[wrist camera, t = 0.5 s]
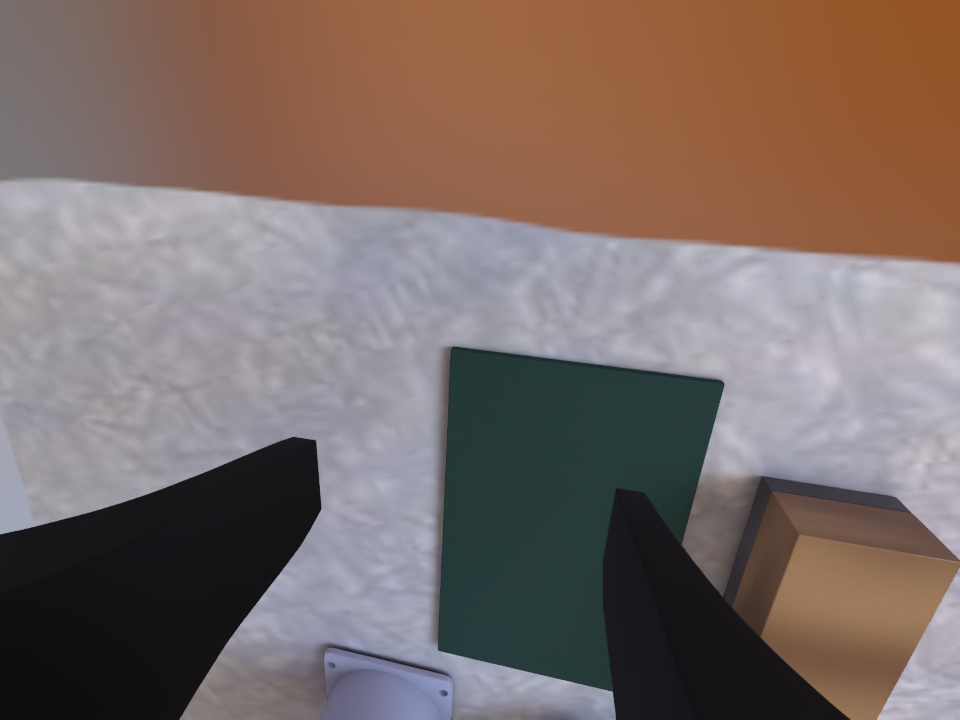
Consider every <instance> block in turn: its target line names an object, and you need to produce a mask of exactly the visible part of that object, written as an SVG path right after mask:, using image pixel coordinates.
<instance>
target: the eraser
mask: <svg viewBox="0 0 960 720" xmlns="http://www.w3.org/2000/svg"><path fill="white" fill-rule="evenodd" d="M959 568H960V560H959V559H958V558H957V557H956V556H955V555H954V554H953V553H952V552H951V551H950V550H949V549H948V548H947V547H946V546H945V545H944V544H943V543H942V542H941V541H940V540H939V539H938V538H937V537H936V536H935V535H934V534H933V533H932V532H931V531H930V530H929V529H928V528H927V527H926V526H925V525H924V524H923V523H922V522H921V521H919V520H918V519H917V518H916V517H915V516H914V515H913V514H912V513H911V512H910V511H909V510H908V509H907V508H906V507H905V506H904V505H903V504H902V503H901V502H900V501H899V500H898V499H897V498H895V497H890V496H883V495H877V494H870V493H864V492H857V491H851V490H845V489H838V488H832V487H825V486H819V485H812V484H806V483H799V482H793V481H787V480H780V479H774V478H767V477H763V478H762V481H761V484H760V487H759V490H758V493H757V496H756V499H755V502H754V505H753V508H752V512H751V515H750V518H749V521H748V524H747V527H746V530H745V533H744V536H743V539H742V542H741V545H740V548H739V551H738V555H737V558H736V561H735V564H734V567H733V570H732V573H731V576H730V579H729V582H728V585H727V588H726V591H725V594H724V597H723V598H724V599H725V600H726V601H727V603H728V604H729V605H730V606H731V607H732V608H733V609H734V610H735V611H736V612H737V614H738V615H739V616H740V617H741V618H742V619H743V620H744V621H745V622H746V623H747V624H748V625H749V626H750V627H751V628H752V629H753V630H754V631H755V632H756V633H757V634H758V635H759V636H760V637H761V638H762V639H763V640H764V641H765V642H766V643H767V644H768V646H769V647H770V648H771V649H773V650H774V651H775V652H776V653H777V654H778V655H779V656H780V657H781V658H782V659H783V660H784V661H785V662H786V663H787V664H788V665H789V666H790V667H791V668H793V669H794V670H795V671H796V672H797V673H798V674H799V675H800V676H801V677H803V678H804V679H805V680H806V681H807V682H808V683H809V684H810V685H811V686H813V687H814V688H815V689H816V690H817V691H818V692H819V693H820V694H821V695H823V696H824V697H825V698H826V699H827V700H828V701H829V702H830V703H832V704H833V705H834V706H835V707H836V708H837V709H839V710H840V711H841V712H842V713H843V714H845V715H846V716H847V717H848V718H849V719H851V720H877V718H878V716H879V714H880V713H881V711H882V709H883V707H884V705H885V703H886V702H887V700H888V698H889V696H890V694H891V692H892V691H893V689H894V687H895V685H896V683H897V681H898V680H899V678H900V676H901V674H902V672H903V670H904V669H905V667H906V665H907V663H908V661H909V659H910V658H911V656H912V654H913V652H914V650H915V648H916V647H917V645H918V643H919V641H920V639H921V637H922V636H923V634H924V632H925V630H926V628H927V626H928V625H929V623H930V621H931V619H932V617H933V615H934V614H935V612H936V610H937V608H938V606H939V604H940V603H941V601H942V599H943V597H944V595H945V593H946V592H947V590H948V588H949V586H950V584H951V582H952V581H953V579H954V577H955V575H956V573H957V571H958V570H959Z"/></svg>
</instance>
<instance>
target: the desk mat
mask: <svg viewBox="0 0 960 720" xmlns="http://www.w3.org/2000/svg"><path fill="white" fill-rule="evenodd" d="M723 388H724V383H723V382H722V381H720V380H712V379H704V378H697V377H689V376H681V375H673V374H665V373H657V372H649V371H641V370H633V369H625V368H617V367H610V366H602V365H594V364H586V363H578V362H570V361H562V360H554V359H546V358H538V357H530V356H522V355H515V354H507V353H499V352H491V351H483V350H475V349H467V348H459V347H453V348H452V349H451V357H450V380H449V404H448V427H447V450H446V474H445V497H444V520H443V543H442V567H441V590H440V613H439V636H438V651H442V652H446V653H450V654H455V655H459V656H463V657H468V658H472V659H476V660H480V661H485V662H489V663H493V664H497V665H502V666H506V667H510V668H514V669H519V670H523V671H527V672H532V673H536V674H540V675H544V676H549V677H553V678H557V679H561V680H566V681H570V682H574V683H579V684H583V685H587V686H591V687H596V688H600V689H604V690H608V691H613V688H612V679H611V671H610V663H609V655H608V646H607V638H606V629H605V621H604V612H603V556H604V550H605V545H606V539H607V534H608V528H609V523H610V518H611V512H612V507H613V501H614V496H615V490H616V488H620V489H626V490H633V491H639V492H645V494H646V495H647V496H648V498H649V499H650V500H651V502H652V503H653V505H654V506H655V508H656V509H657V511H658V512H659V514H660V515H661V517H662V518H663V520H664V521H665V523H666V524H667V525H668V527H669V528H670V530H671V531H672V533H673V534H674V535H675V537H676V538H677V540H678V541H679V542H680V544H682V540H683V537H684V533H685V529H686V525H687V522H688V518H689V514H690V511H691V507H692V503H693V500H694V496H695V492H696V488H697V485H698V481H699V477H700V474H701V470H702V466H703V462H704V459H705V455H706V451H707V448H708V444H709V440H710V436H711V433H712V429H713V425H714V422H715V418H716V414H717V410H718V407H719V403H720V399H721V396H722V392H723Z"/></svg>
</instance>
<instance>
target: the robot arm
mask: <svg viewBox="0 0 960 720" xmlns="http://www.w3.org/2000/svg"><path fill="white" fill-rule="evenodd" d="M320 511H321V497H320V485H319V472H318V459H317V446H316V440H310V439H304V438H297V437H292V438H288V439H285V440H282V441H280V442H277V443H274V444H272V445H269V446H267V447H264V448H262V449H260V450H257V451H255V452H253V453H250V454H248V455H245V456H243V457H241V458H238V459H236V460H234V461H231V462H229V463H226V464H224V465H222V466H219V467H217V468H215V469H212V470H210V471H207V472H205V473H202V474H200V475H197V476H195V477H192V478H189V479H187V480H184V481H182V482H179V483H177V484H174V485H171V486H169V487H166V488H164V489H161V490H158V491H156V492H153V493H150V494H147V495H144V496H141V497H138V498H135V499H132V500H129V501H126V502H123V503H120V504H116V505H113V506H110V507H107V508H104V509H100V510H97V511H93V512H90V513H86V514H82V515H78V516H75V517H71V518H67V519H63V520H59V521H55V522H51V523H47V524H44V525H40V526H36V527H32V528H28V529H24V530H19V531H14V532H9V533H5V534H0V720H179V719H180V717H181V716H182V714H183V712H184V711H185V709H186V707H187V706H188V704H189V702H190V701H191V699H192V697H193V696H194V694H195V692H196V691H197V689H198V688H199V686H200V684H201V683H202V681H203V680H204V678H205V677H206V675H207V673H208V672H209V670H210V669H211V667H212V665H213V664H214V662H215V661H216V659H217V658H218V656H219V654H220V653H221V651H222V650H223V648H224V647H225V645H226V644H227V642H228V641H229V640H230V638H231V637H232V635H233V634H234V632H235V631H236V630H237V628H238V627H239V626H240V624H241V623H242V622H243V620H244V619H245V618H246V616H247V615H248V614H249V613H250V611H251V610H252V609H253V607H254V606H255V605H256V603H257V602H258V601H259V600H260V598H261V597H262V596H263V594H264V593H265V592H266V591H267V589H268V588H269V587H270V585H271V584H272V583H273V581H274V580H275V579H276V578H277V576H278V575H279V574H280V572H281V571H282V570H283V568H284V567H285V566H286V564H287V563H288V562H289V560H290V559H291V558H292V556H293V555H294V554H295V552H296V551H297V550H298V548H299V547H300V546H301V544H302V542H303V541H304V539H305V537H306V536H307V534H308V532H309V531H310V529H311V527H312V525H313V524H314V522H315V520H316V518H317V516H318V514H319V513H320ZM603 612H604V621H605V629H606V638H607V646H608V655H609V663H610V671H611V679H612V688H613V696H614V704H615V712H616V720H851V719H849V718H848V717H847V716H846V715H845V714H843V713H842V712H841V711H840V710H839V709H837V708H836V707H835V706H834V705H833V704H832V703H830V702H829V701H828V700H827V699H826V698H825V697H824V696H823V695H821V694H820V693H819V692H818V691H817V690H816V689H815V688H814V687H813V686H811V685H810V684H809V683H808V682H807V681H806V680H805V679H804V678H803V677H801V676H800V675H799V674H798V673H797V672H796V671H795V670H794V669H793V668H791V667H790V666H789V665H788V664H787V663H786V662H785V661H784V660H783V659H782V658H781V657H780V656H779V655H778V654H777V653H776V652H775V651H774V650H773V649H771V648H770V647H769V646H768V644H767V643H766V642H765V641H764V640H763V639H762V638H761V637H760V636H759V635H758V634H757V633H756V632H755V631H754V630H753V629H752V628H751V627H750V626H749V625H748V624H747V623H746V622H745V621H744V620H743V619H742V618H741V617H740V616H739V615H738V614H737V612H736V611H735V610H734V609H733V608H732V607H731V606H730V605H729V604H728V603H727V601H726V600H725V599H724V598H723V597H722V596H721V594H720V593H719V592H718V591H717V590H716V589H715V587H714V586H713V585H712V584H711V583H710V581H709V580H708V579H707V578H706V576H705V575H704V574H703V573H702V571H701V570H700V569H699V568H698V566H697V565H696V564H695V562H694V561H693V560H692V558H691V557H690V556H689V554H688V553H687V552H686V550H685V549H684V548H683V547H682V545H681V544H680V542H679V541H678V540H677V538H676V537H675V535H674V534H673V533H672V531H671V530H670V528H669V527H668V525H667V524H666V523H665V521H664V520H663V518H662V517H661V515H660V514H659V512H658V511H657V509H656V508H655V506H654V505H653V503H652V502H651V500H650V499H649V498H648V496H647V495H646V494H645V492H639V491H633V490H626V489H620V488H616V490H615V496H614V501H613V507H612V512H611V518H610V523H609V528H608V534H607V539H606V545H605V550H604V556H603ZM323 659H324V672H325V684H326V697H327V702H326V704H325V706H324V708H323V710H322V712H321V714H320V716H319V718H318V720H451V719H452V703H453V687H454V682H453V680H452V678H451V677H449V676H447V675H444V674H439V673H435V672H431V671H427V670H423V669H419V668H415V667H411V666H406V665H402V664H398V663H394V662H390V661H386V660H382V659H378V658H373V657H369V656H365V655H361V654H357V653H353V652H349V651H344V650H340V649H336V648H328V649H327V650H326V651H325V653H324V656H323Z"/></svg>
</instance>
